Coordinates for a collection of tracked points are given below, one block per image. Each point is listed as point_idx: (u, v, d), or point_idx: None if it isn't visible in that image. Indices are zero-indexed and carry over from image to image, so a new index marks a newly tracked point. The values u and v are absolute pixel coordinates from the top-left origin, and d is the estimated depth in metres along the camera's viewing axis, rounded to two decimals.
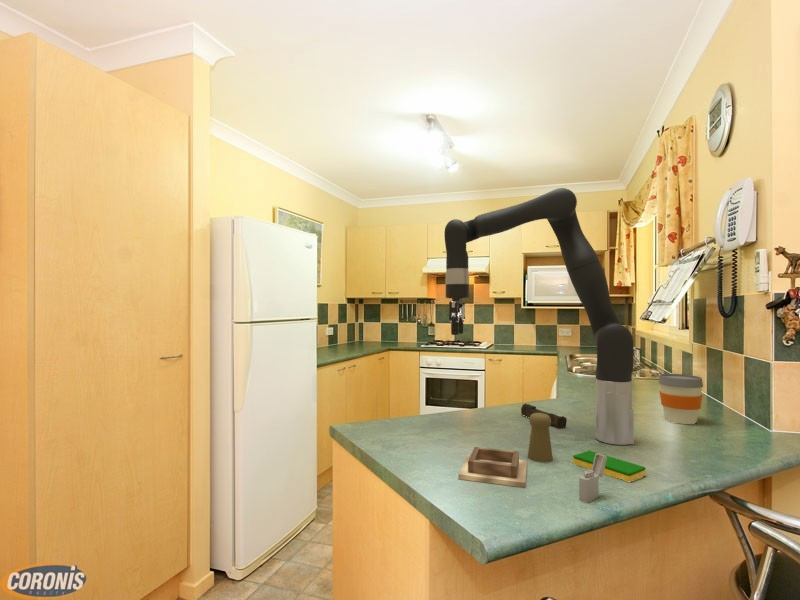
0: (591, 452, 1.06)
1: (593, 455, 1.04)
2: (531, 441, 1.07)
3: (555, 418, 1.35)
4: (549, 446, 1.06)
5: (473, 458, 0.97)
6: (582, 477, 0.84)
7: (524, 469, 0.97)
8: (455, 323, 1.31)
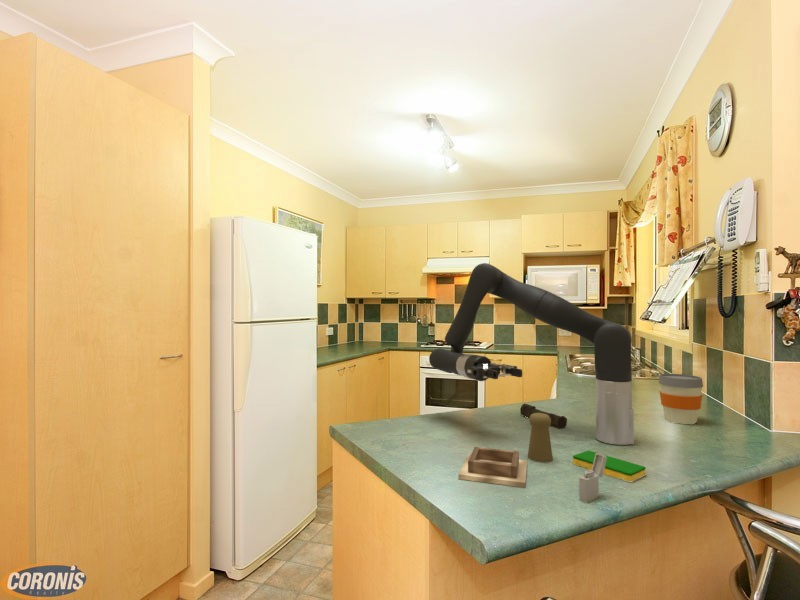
0: (591, 452, 1.06)
1: (593, 455, 1.04)
2: (531, 441, 1.07)
3: (555, 418, 1.35)
4: (549, 446, 1.06)
5: (473, 458, 0.97)
6: (582, 477, 0.84)
7: (524, 469, 0.97)
8: (485, 372, 1.18)
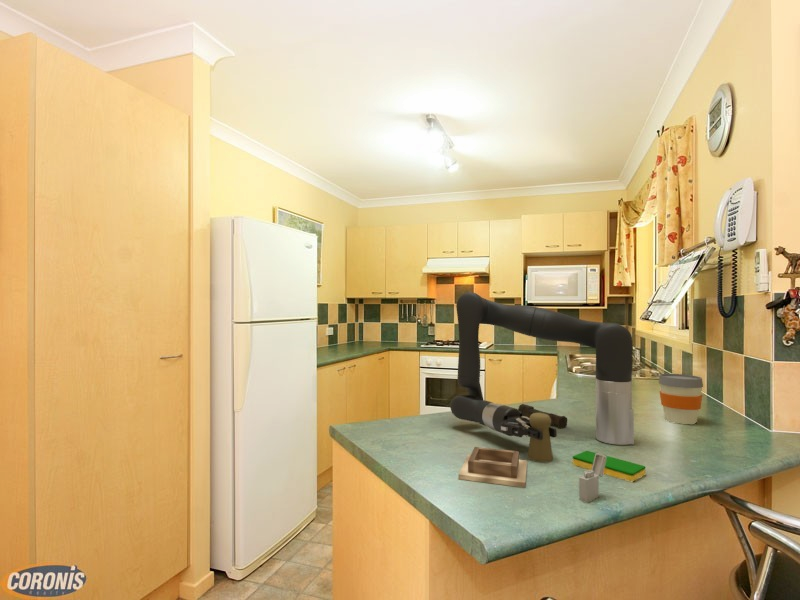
0: (589, 452, 1.06)
1: (592, 455, 1.03)
2: (531, 441, 1.07)
3: (556, 418, 1.36)
4: (549, 446, 1.06)
5: (473, 458, 0.97)
6: (582, 477, 0.84)
7: (524, 469, 0.97)
8: (527, 430, 1.07)
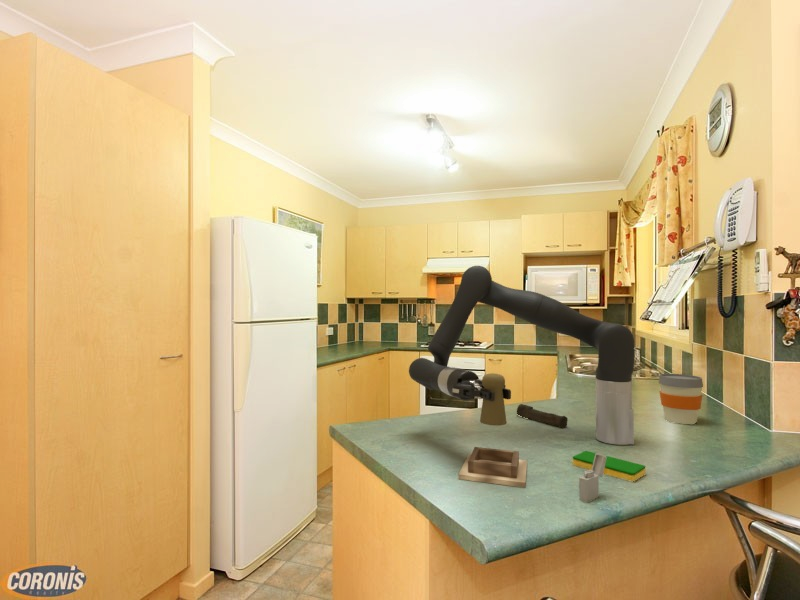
0: (589, 452, 1.06)
1: (592, 455, 1.03)
2: (483, 403, 0.98)
3: (557, 418, 1.36)
4: (502, 408, 0.97)
5: (473, 458, 0.97)
6: (582, 477, 0.84)
7: (524, 469, 0.97)
8: (479, 392, 0.98)
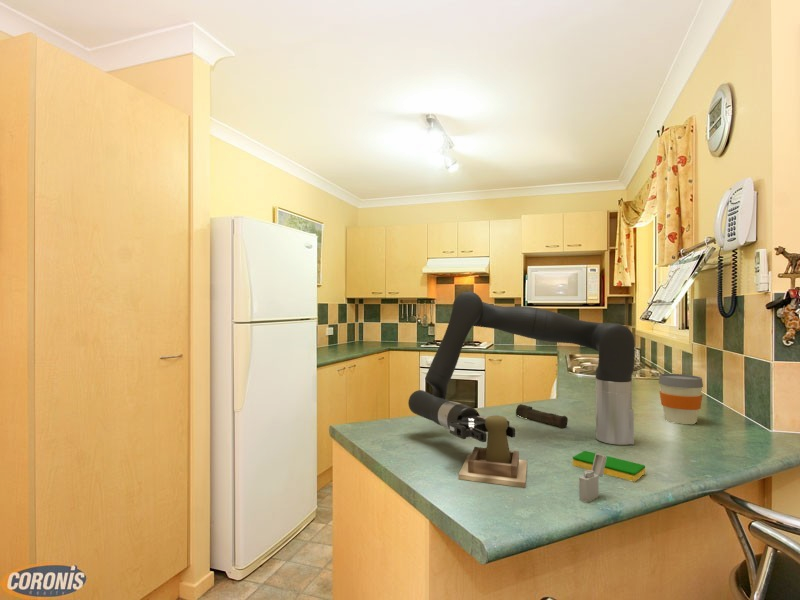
0: (588, 452, 1.06)
1: (591, 455, 1.03)
2: (488, 446, 0.98)
3: (557, 418, 1.36)
4: (507, 451, 0.97)
5: (473, 458, 0.97)
6: (582, 477, 0.84)
7: (524, 469, 0.97)
8: (471, 432, 0.97)
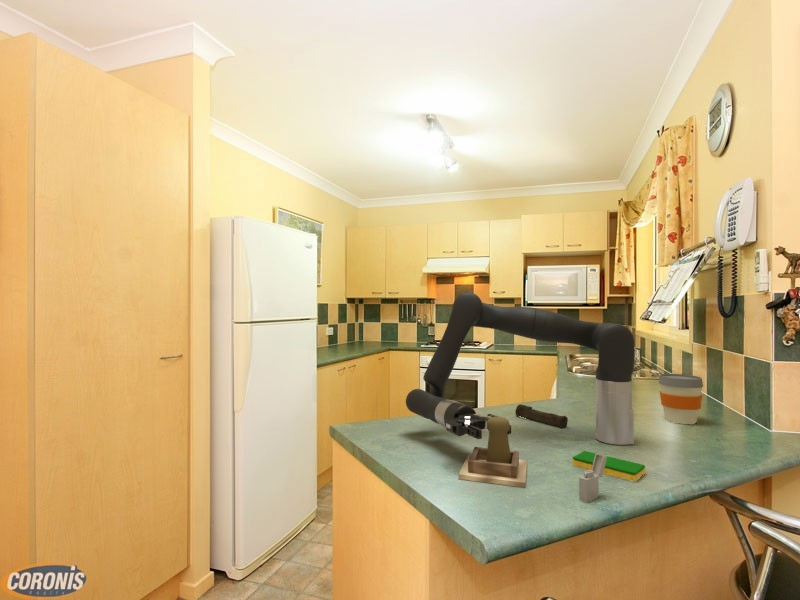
0: (588, 452, 1.06)
1: (591, 455, 1.03)
2: (489, 448, 0.98)
3: (557, 418, 1.36)
4: (508, 453, 0.97)
5: (473, 458, 0.97)
6: (582, 477, 0.84)
7: (524, 469, 0.97)
8: (467, 429, 0.99)
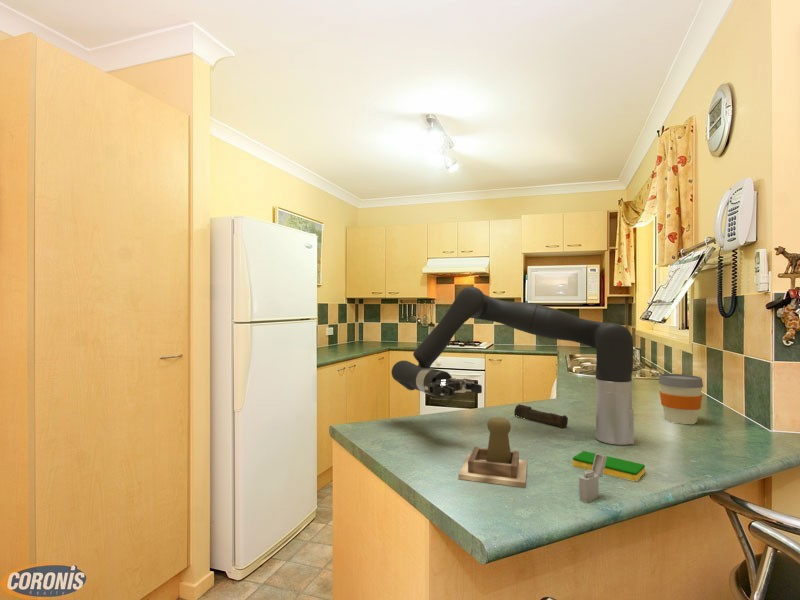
0: (587, 452, 1.06)
1: (591, 456, 1.03)
2: (489, 448, 0.98)
3: (558, 418, 1.36)
4: (508, 453, 0.97)
5: (473, 458, 0.97)
6: (582, 477, 0.84)
7: (524, 469, 0.97)
8: (442, 389, 1.11)
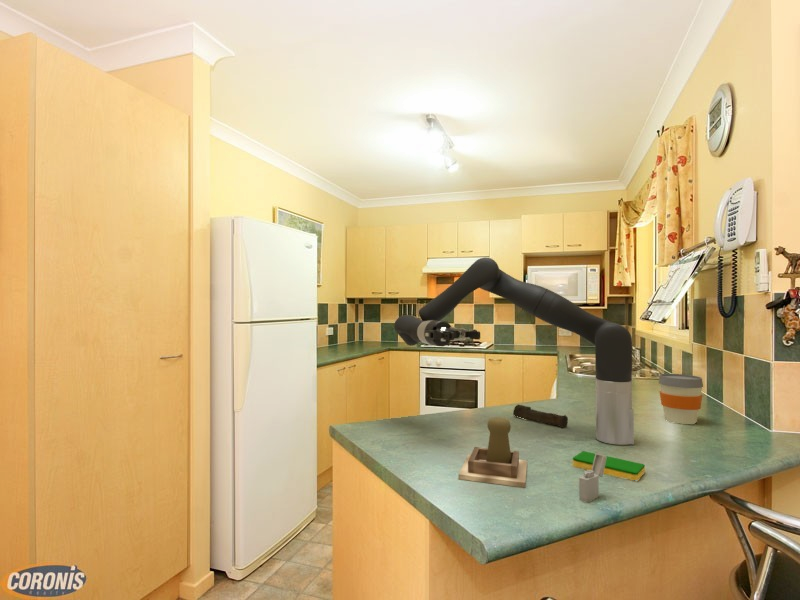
0: (586, 452, 1.05)
1: (591, 456, 1.03)
2: (489, 448, 0.98)
3: (558, 418, 1.36)
4: (508, 453, 0.97)
5: (473, 458, 0.97)
6: (582, 477, 0.84)
7: (524, 469, 0.97)
8: (442, 334, 1.15)
